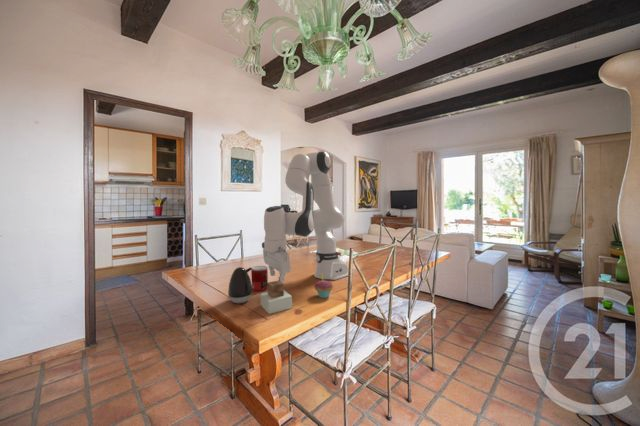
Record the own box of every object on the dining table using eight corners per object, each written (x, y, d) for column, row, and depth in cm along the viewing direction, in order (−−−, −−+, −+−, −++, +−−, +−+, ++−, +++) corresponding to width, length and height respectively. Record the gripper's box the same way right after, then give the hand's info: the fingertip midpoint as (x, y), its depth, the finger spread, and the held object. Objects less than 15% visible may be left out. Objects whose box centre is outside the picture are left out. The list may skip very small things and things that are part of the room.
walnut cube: (279, 291, 110) (278, 280, 109) (283, 295, 105) (283, 283, 105) (267, 294, 107) (267, 282, 107) (272, 298, 103) (272, 286, 102)
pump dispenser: (256, 302, 111) (255, 268, 110) (231, 308, 105) (230, 272, 105) (249, 295, 120) (248, 263, 119) (226, 299, 114) (225, 266, 113)
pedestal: (282, 300, 113) (282, 289, 113) (292, 308, 105) (292, 296, 104) (260, 305, 108) (260, 293, 108) (269, 314, 100) (268, 301, 99)
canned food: (264, 292, 123) (263, 270, 122) (248, 291, 124) (248, 269, 124) (270, 287, 130) (269, 265, 130) (255, 286, 132) (255, 265, 131)
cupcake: (329, 300, 112) (329, 273, 111) (311, 298, 115) (311, 272, 114) (335, 293, 120) (334, 268, 120) (318, 291, 123) (318, 267, 122)
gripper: (293, 248, 98) (295, 283, 99) (273, 241, 115) (274, 271, 116) (278, 250, 95) (280, 287, 96) (260, 243, 112) (261, 273, 113)
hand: (277, 278), depth 106 cm, fingers open, 8 cm apart
